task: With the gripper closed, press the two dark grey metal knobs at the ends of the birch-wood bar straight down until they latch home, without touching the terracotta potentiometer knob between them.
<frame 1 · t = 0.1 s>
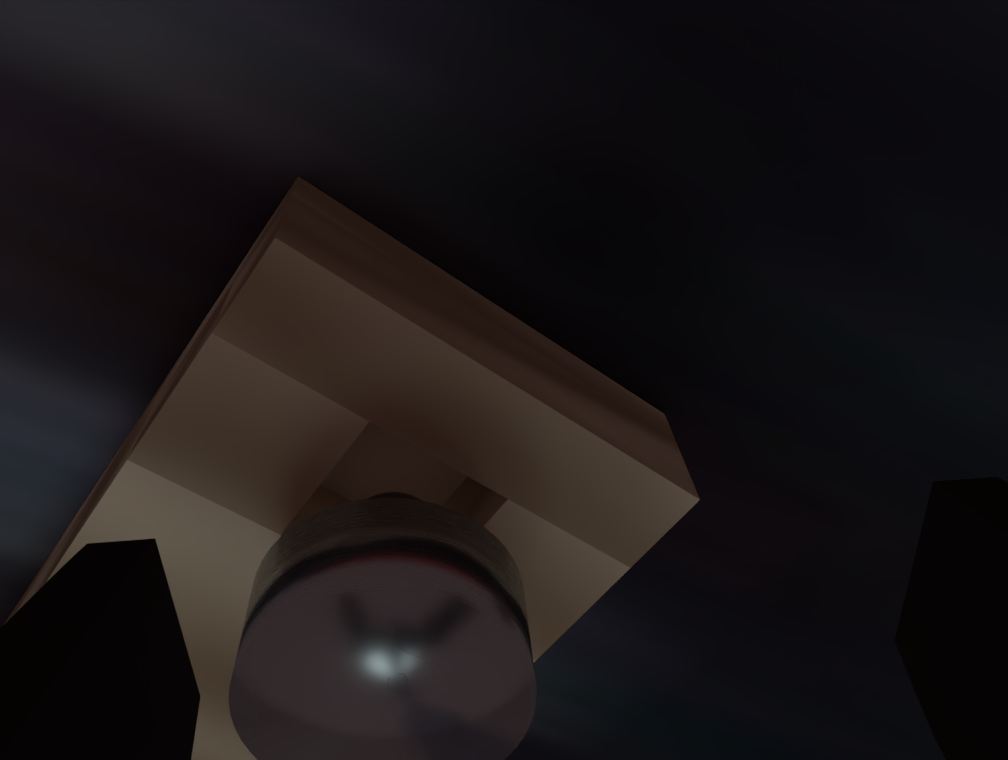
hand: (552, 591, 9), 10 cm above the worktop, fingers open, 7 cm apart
knob bar: (175, 704, 23), on the worktop
knob a: (389, 606, 15), point 5 cm above the worktop, slide at 0.0 cm
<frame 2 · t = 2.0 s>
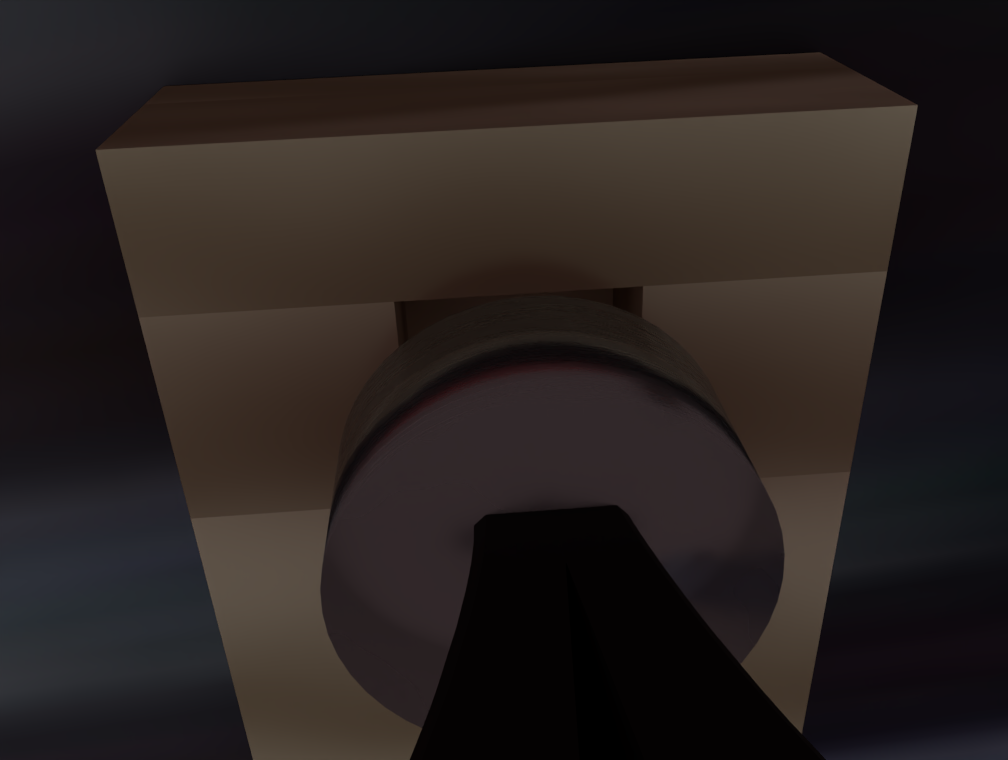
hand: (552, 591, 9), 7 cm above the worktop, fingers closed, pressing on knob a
knob bar: (522, 733, 20), on the worktop
knob a: (534, 472, 11), point 5 cm above the worktop, slide at 0.7 cm, touching gripper
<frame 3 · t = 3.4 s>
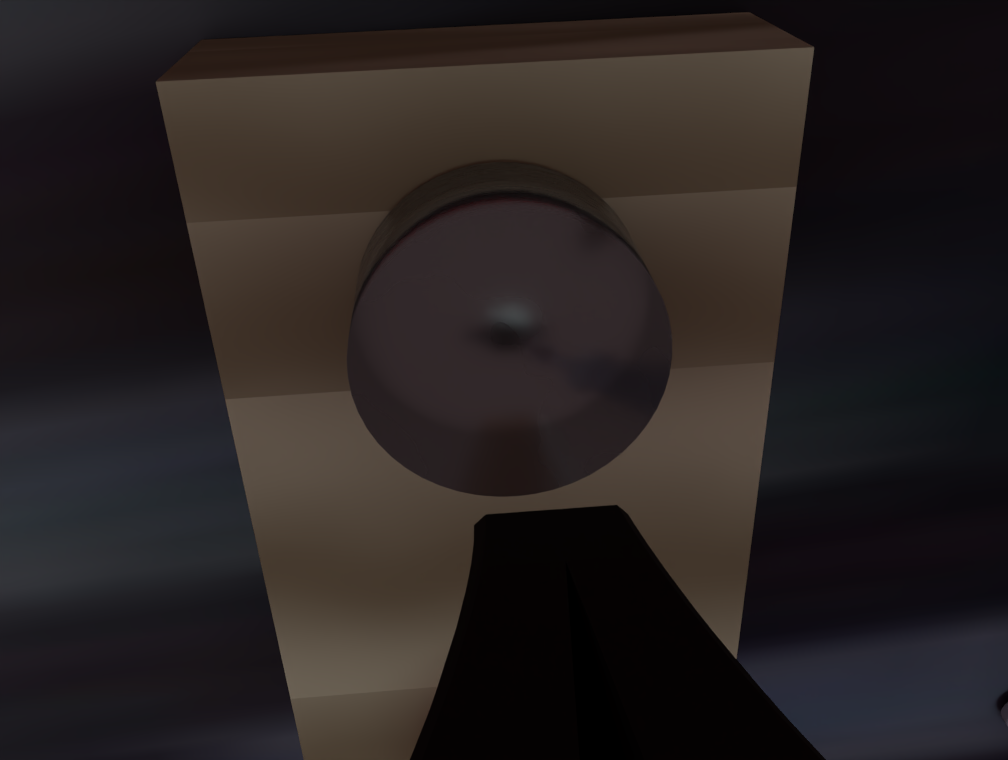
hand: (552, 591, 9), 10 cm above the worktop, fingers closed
knob bar: (506, 625, 22), on the worktop
knob a: (500, 302, 14), point 3 cm above the worktop, slide at 2.1 cm
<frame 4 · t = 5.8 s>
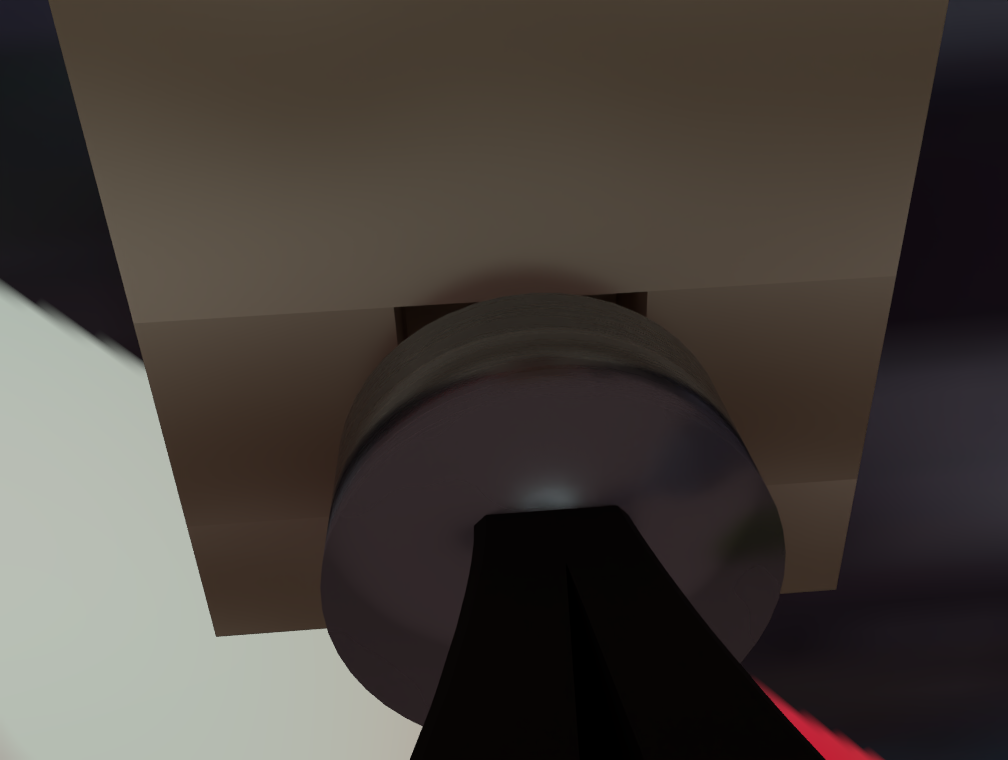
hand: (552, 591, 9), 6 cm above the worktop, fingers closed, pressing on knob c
knob c: (534, 469, 11), point 4 cm above the worktop, slide at 1.0 cm, touching gripper
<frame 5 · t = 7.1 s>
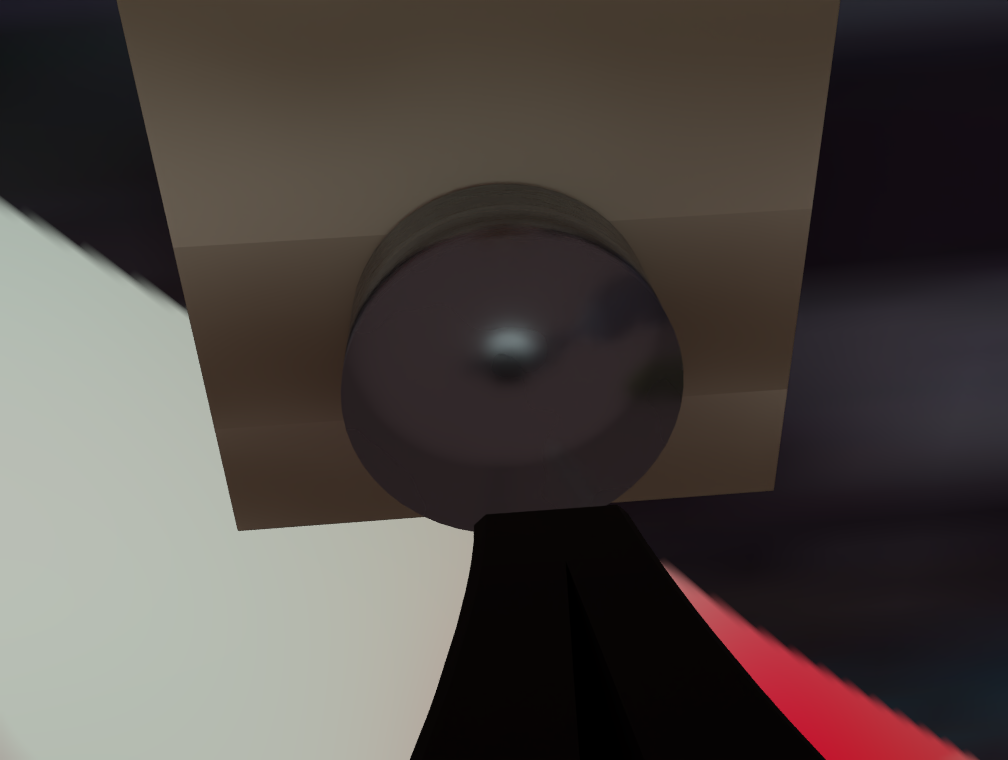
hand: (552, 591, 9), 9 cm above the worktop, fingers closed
knob c: (502, 329, 14), point 3 cm above the worktop, slide at 2.1 cm
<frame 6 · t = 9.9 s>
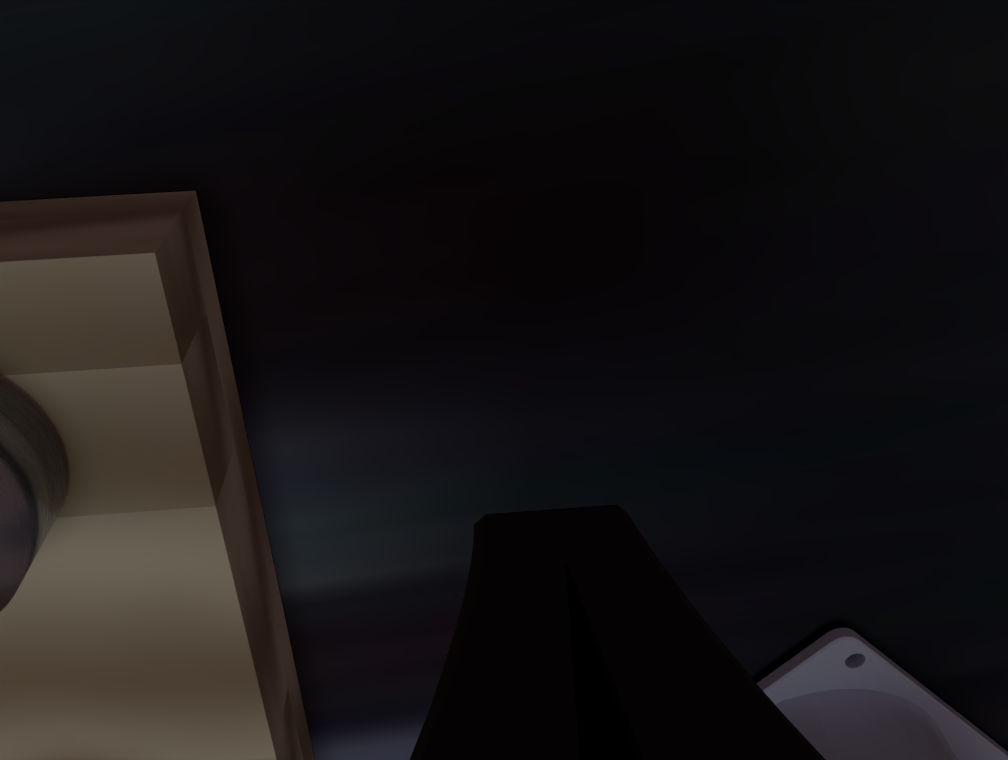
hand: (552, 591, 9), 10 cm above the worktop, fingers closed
knob bar: (124, 711, 24), on the worktop
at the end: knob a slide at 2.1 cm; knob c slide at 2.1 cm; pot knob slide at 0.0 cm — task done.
